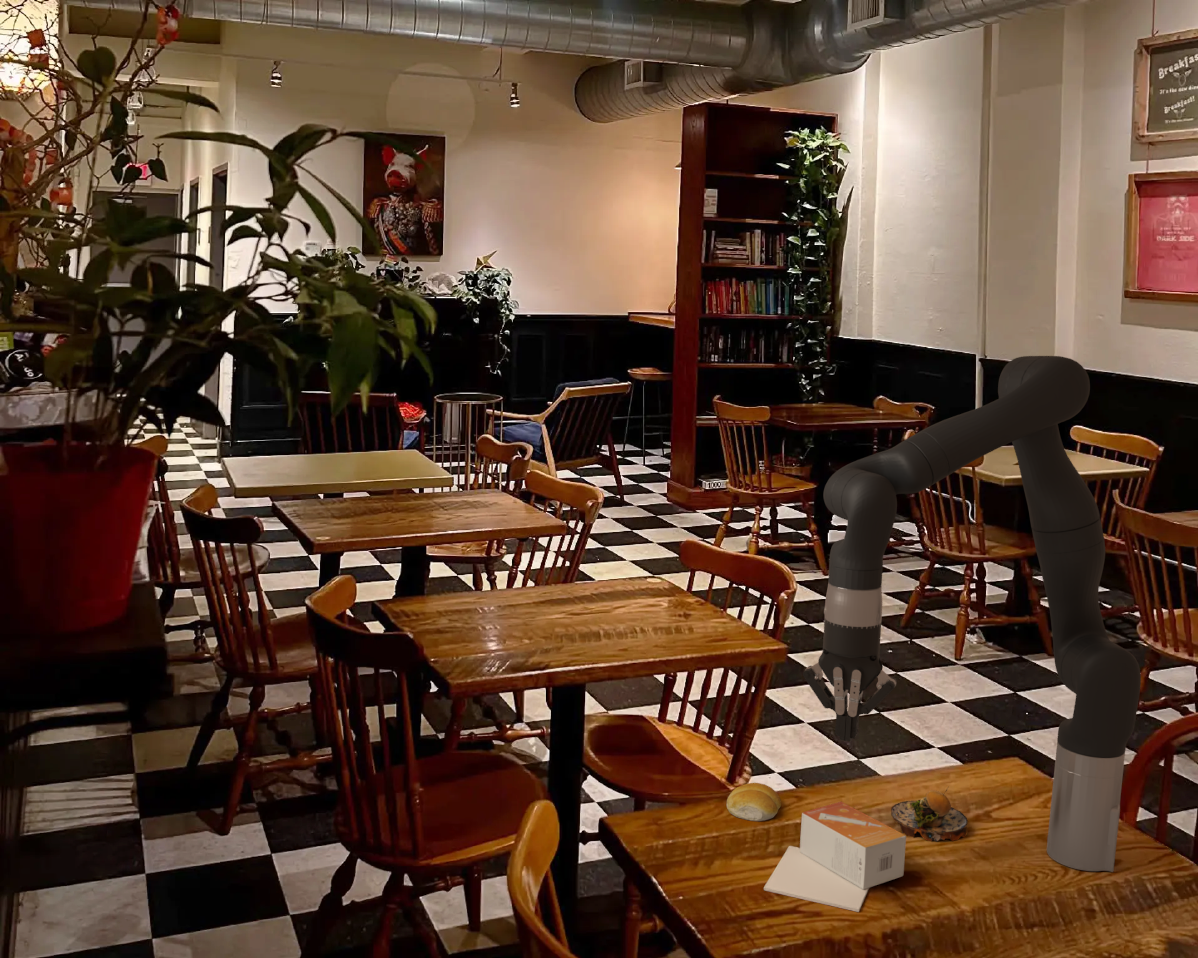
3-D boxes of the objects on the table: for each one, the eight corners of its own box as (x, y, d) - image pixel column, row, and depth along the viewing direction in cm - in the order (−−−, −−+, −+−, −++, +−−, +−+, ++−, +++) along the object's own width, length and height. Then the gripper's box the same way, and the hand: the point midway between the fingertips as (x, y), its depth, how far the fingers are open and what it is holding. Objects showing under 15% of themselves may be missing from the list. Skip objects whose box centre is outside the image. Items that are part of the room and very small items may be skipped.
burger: (928, 805, 194) (931, 761, 193) (984, 833, 184) (988, 788, 183) (872, 818, 188) (876, 773, 187) (928, 849, 178) (931, 802, 177)
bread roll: (783, 803, 192) (785, 780, 192) (773, 826, 184) (774, 801, 183) (733, 795, 195) (734, 771, 194) (720, 816, 186) (722, 792, 186)
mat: (877, 867, 171) (878, 864, 171) (858, 911, 158) (858, 909, 158) (789, 848, 176) (789, 845, 176) (763, 889, 163) (763, 887, 163)
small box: (866, 847, 162) (800, 811, 173) (863, 890, 163) (798, 852, 174) (907, 834, 167) (841, 800, 177) (904, 876, 168) (838, 840, 178)
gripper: (907, 616, 161) (899, 738, 164) (811, 604, 166) (804, 723, 169) (898, 630, 154) (890, 757, 157) (798, 617, 160) (791, 740, 162)
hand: (846, 739), depth 163 cm, fingers closed
